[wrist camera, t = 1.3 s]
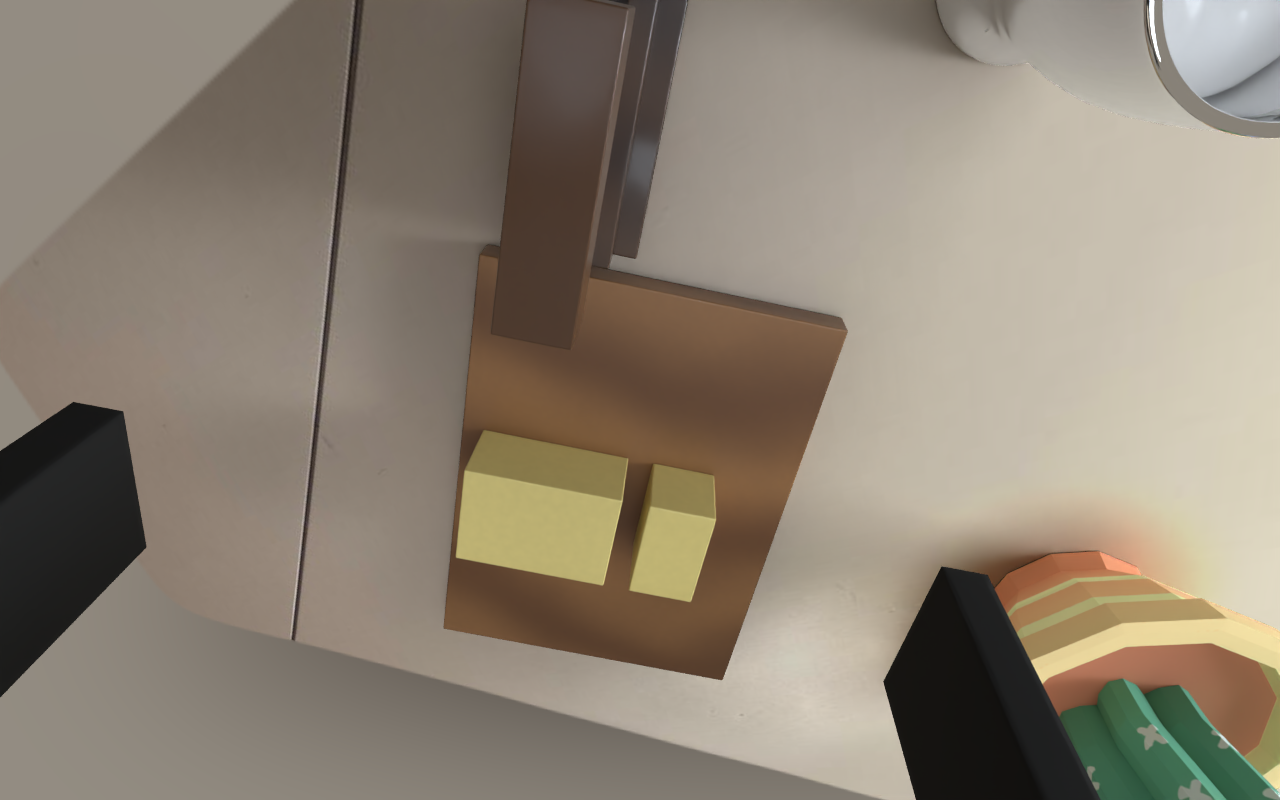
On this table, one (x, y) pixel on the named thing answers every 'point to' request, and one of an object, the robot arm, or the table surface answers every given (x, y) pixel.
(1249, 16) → the beer glass
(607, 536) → the butter
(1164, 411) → the table surface
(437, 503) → the table surface
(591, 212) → the cleaver
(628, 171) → the knife holder
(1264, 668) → the potted cactus
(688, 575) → the butter pat
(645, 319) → the board
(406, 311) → the table surface
